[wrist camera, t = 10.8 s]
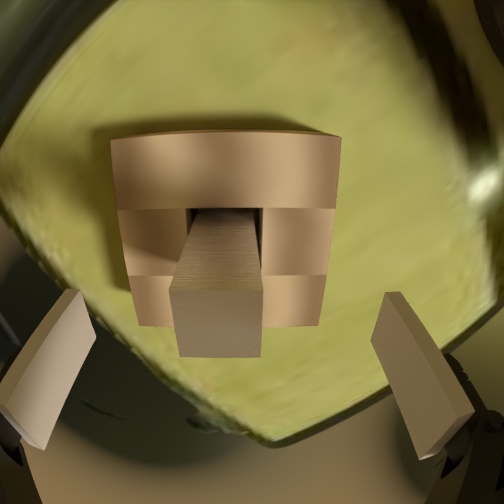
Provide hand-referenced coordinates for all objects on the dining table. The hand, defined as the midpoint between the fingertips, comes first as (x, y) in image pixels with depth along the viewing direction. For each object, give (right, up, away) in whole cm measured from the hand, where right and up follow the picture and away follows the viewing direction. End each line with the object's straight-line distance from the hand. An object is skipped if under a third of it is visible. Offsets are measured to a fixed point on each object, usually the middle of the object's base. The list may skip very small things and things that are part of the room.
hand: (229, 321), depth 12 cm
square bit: (-1, +5, +11) cm, 12 cm away
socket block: (-1, +5, +11) cm, 12 cm away
